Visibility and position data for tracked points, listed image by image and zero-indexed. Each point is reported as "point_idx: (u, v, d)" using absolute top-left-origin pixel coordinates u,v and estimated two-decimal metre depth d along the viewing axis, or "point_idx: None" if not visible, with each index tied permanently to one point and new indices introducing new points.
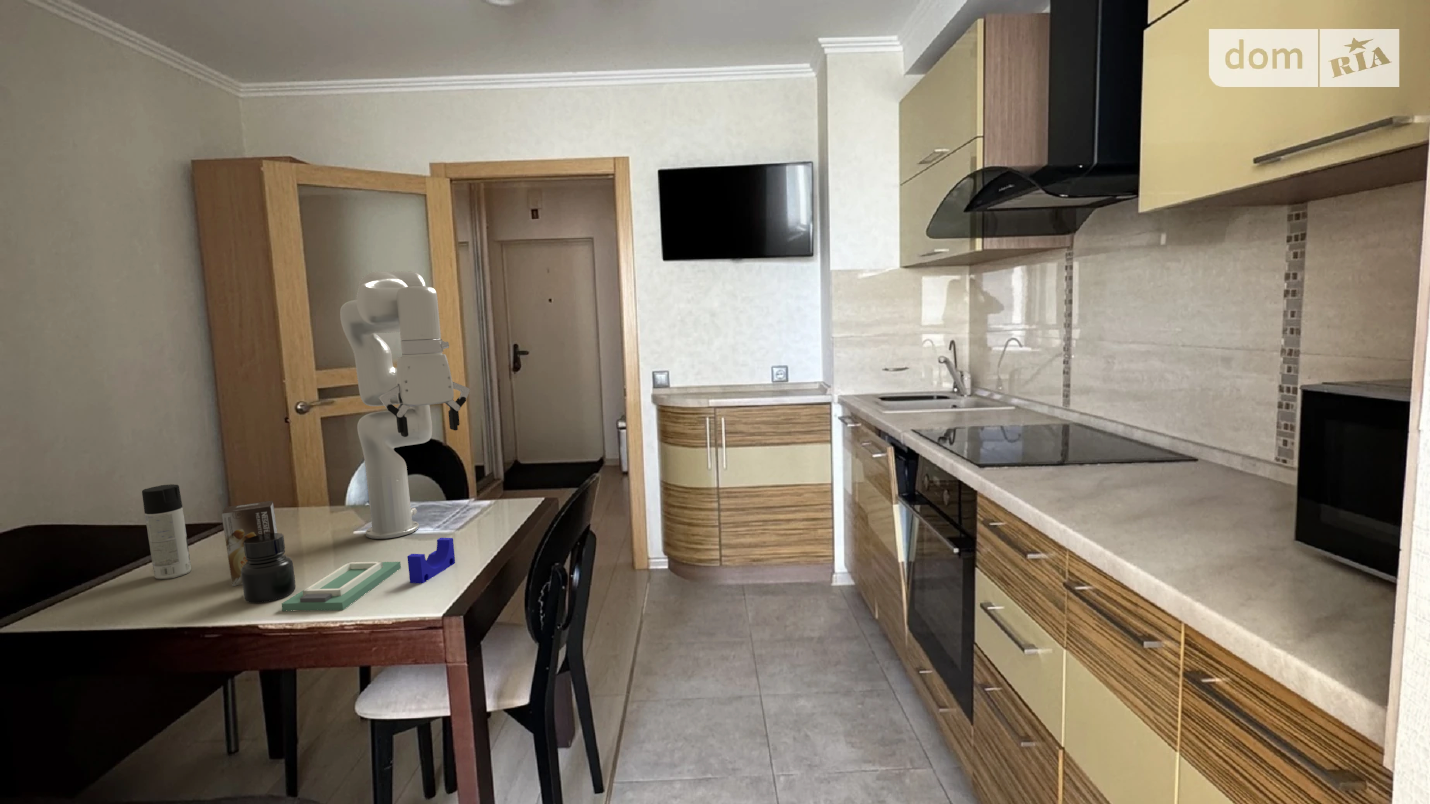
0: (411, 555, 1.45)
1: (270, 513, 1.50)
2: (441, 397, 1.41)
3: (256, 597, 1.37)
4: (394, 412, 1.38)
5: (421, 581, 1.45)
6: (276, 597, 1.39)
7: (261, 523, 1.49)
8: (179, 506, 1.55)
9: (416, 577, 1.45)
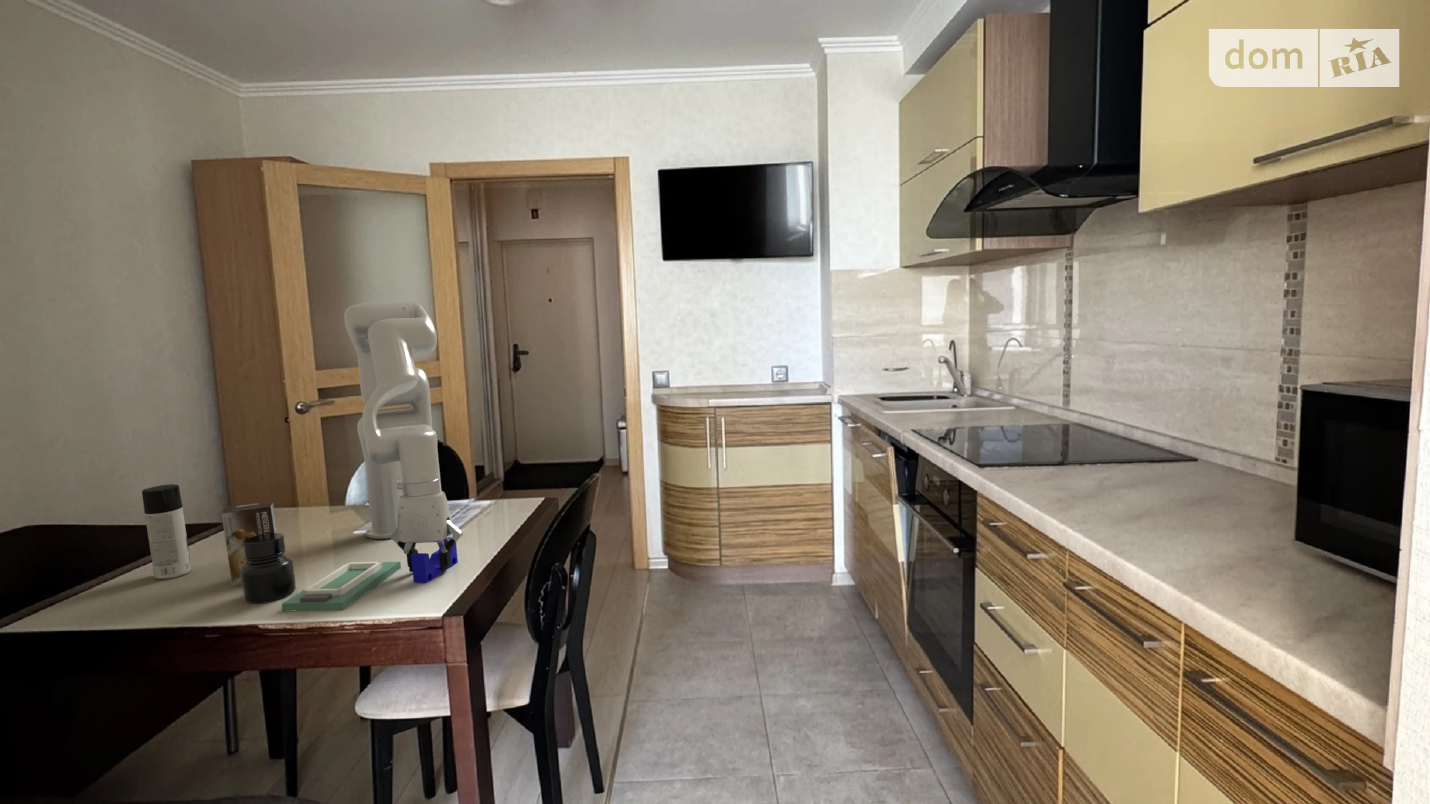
0: (415, 554, 1.45)
1: (270, 513, 1.50)
2: None
3: (256, 597, 1.37)
4: None
5: (425, 580, 1.45)
6: (276, 597, 1.39)
7: (261, 523, 1.49)
8: (179, 506, 1.55)
9: (420, 576, 1.45)
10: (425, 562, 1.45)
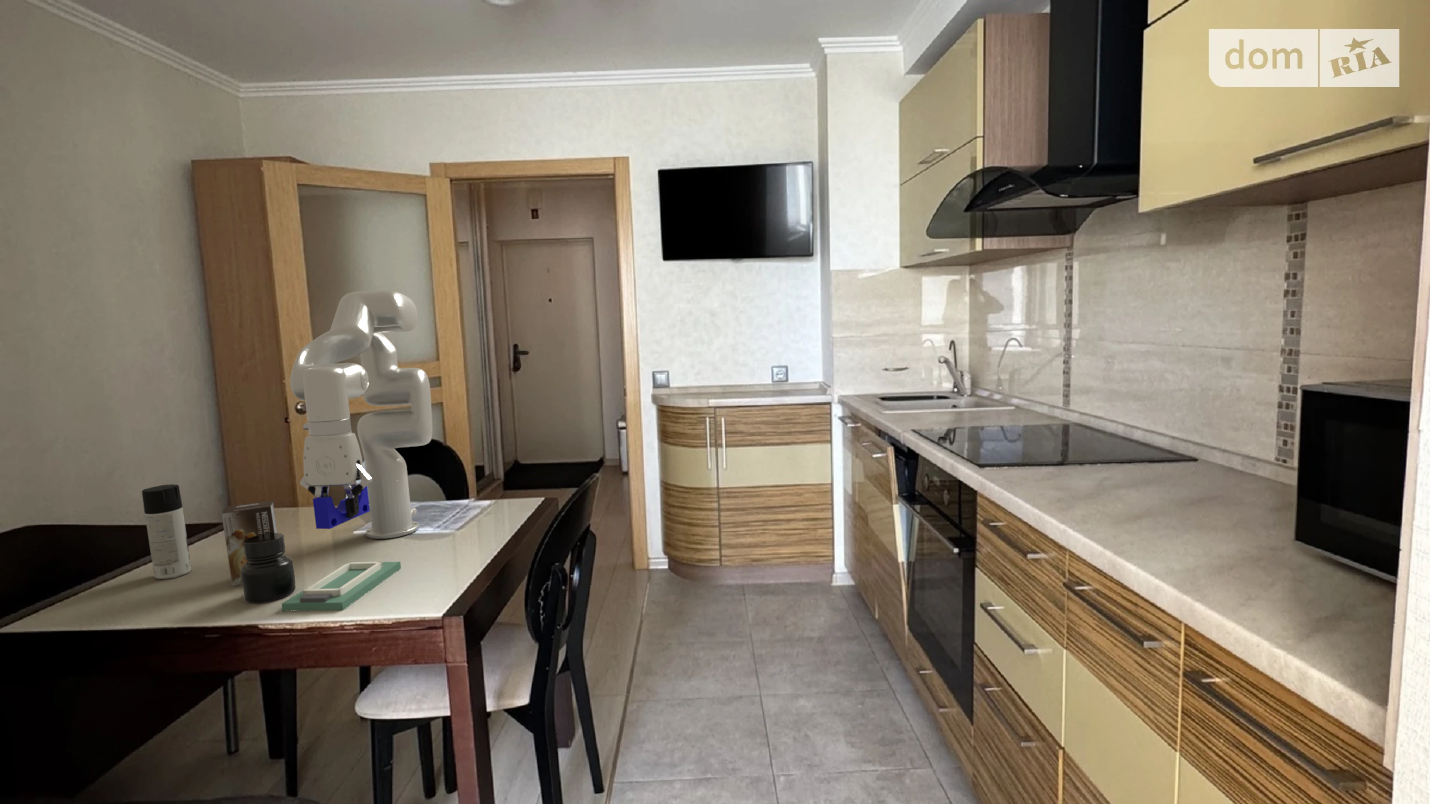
0: (317, 498, 1.37)
1: (270, 513, 1.50)
2: None
3: (256, 597, 1.37)
4: None
5: (328, 525, 1.37)
6: (276, 597, 1.39)
7: (261, 523, 1.49)
8: (179, 506, 1.55)
9: (323, 521, 1.37)
10: (328, 506, 1.36)
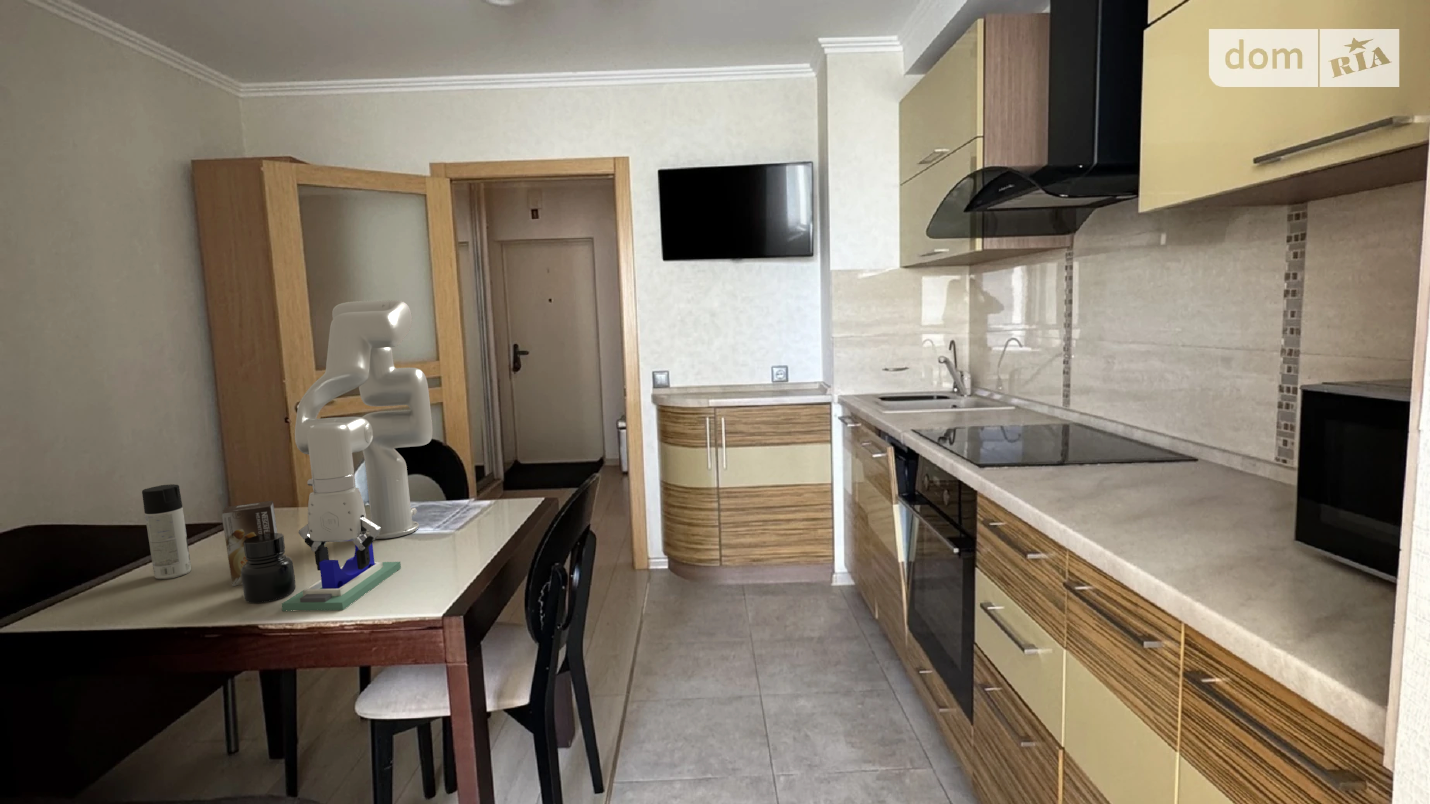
0: (323, 561, 1.38)
1: (270, 513, 1.50)
2: None
3: (256, 597, 1.37)
4: None
5: (334, 588, 1.38)
6: (276, 597, 1.39)
7: (261, 523, 1.49)
8: (179, 506, 1.55)
9: (329, 584, 1.38)
10: (334, 569, 1.38)
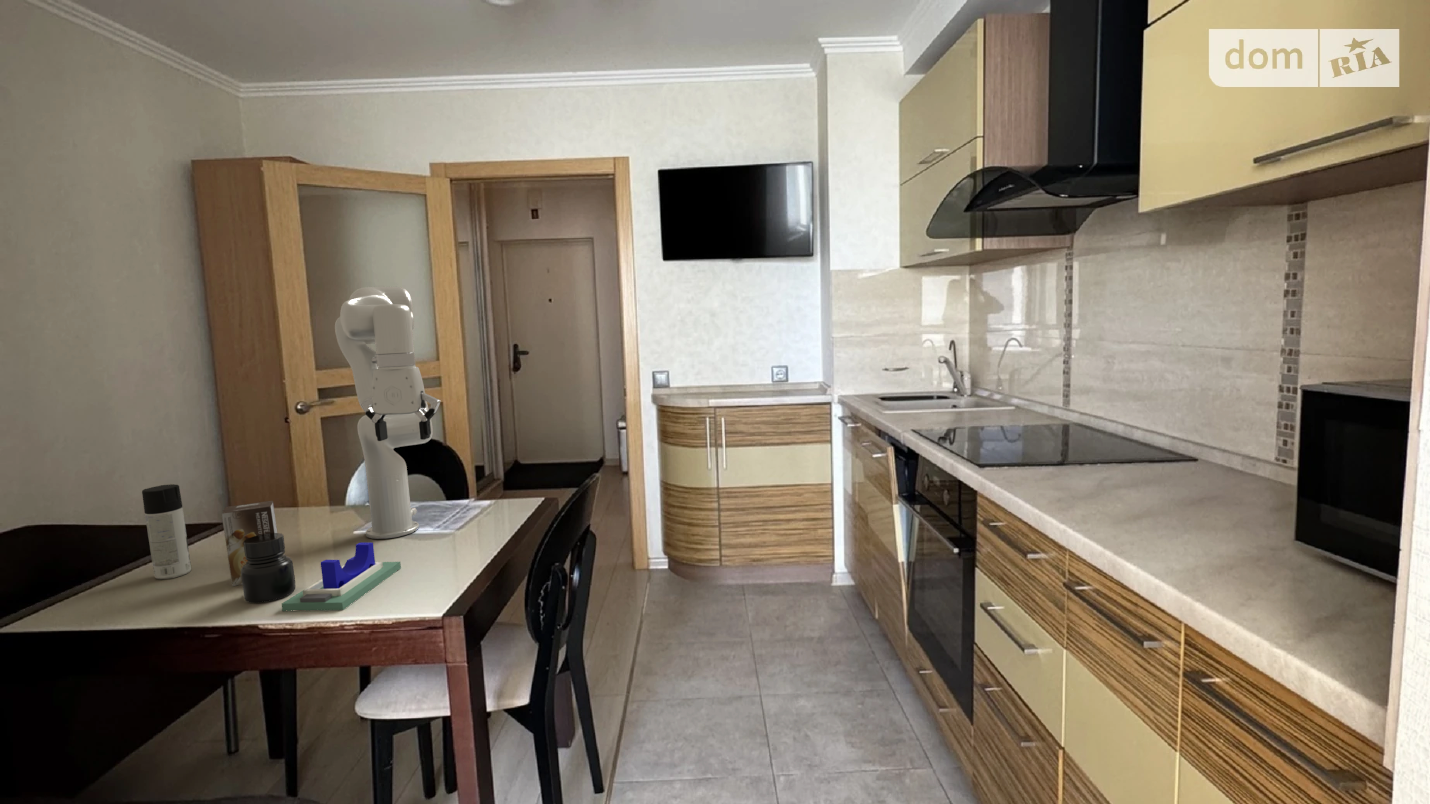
0: (325, 561, 1.38)
1: (270, 513, 1.50)
2: None
3: (256, 597, 1.37)
4: None
5: (335, 588, 1.38)
6: (276, 597, 1.39)
7: (261, 523, 1.49)
8: (179, 506, 1.55)
9: (330, 584, 1.38)
10: (335, 569, 1.38)
